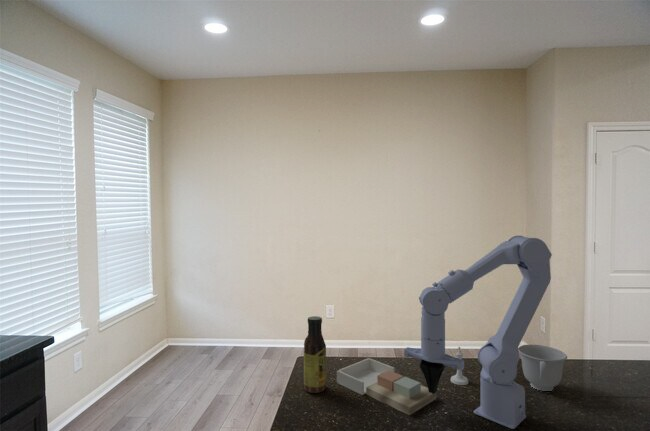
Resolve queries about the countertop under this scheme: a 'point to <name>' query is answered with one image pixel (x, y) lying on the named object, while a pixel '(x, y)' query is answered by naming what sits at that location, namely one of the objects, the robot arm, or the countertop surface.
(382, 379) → the tile terracotta
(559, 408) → the countertop surface
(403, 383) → the tile sage
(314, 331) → the sauce bottle
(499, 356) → the robot arm
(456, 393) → the countertop surface
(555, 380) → the teacup
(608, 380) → the countertop surface
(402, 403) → the board
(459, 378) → the chess piece
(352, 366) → the tray
